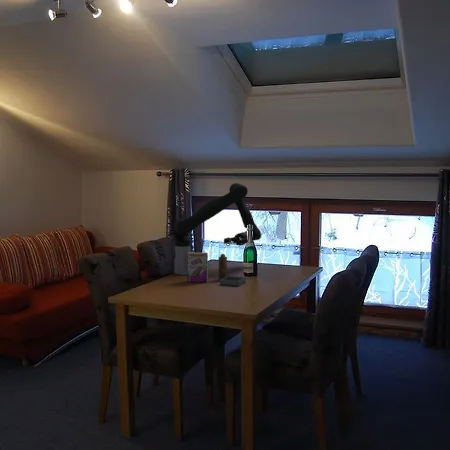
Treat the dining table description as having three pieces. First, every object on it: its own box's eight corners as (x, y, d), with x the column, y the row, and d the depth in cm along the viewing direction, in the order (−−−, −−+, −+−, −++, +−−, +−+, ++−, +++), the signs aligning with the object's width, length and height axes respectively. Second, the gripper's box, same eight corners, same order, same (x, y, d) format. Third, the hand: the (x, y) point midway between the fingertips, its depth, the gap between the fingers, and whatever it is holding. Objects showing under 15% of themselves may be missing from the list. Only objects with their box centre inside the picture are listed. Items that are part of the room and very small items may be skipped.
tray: (220, 284, 285) (219, 279, 284) (227, 281, 293) (227, 276, 293) (238, 286, 280) (238, 281, 279) (245, 282, 289) (245, 277, 288)
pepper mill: (217, 280, 297) (217, 254, 295) (221, 278, 301) (220, 252, 300) (225, 280, 295) (224, 254, 293) (228, 279, 299) (228, 253, 298)
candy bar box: (187, 282, 292) (186, 253, 290) (188, 280, 297) (188, 252, 295) (207, 282, 291) (206, 253, 289) (208, 280, 296) (207, 252, 294)
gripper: (231, 232, 323) (220, 235, 309) (252, 232, 317) (242, 236, 302) (232, 244, 324) (220, 247, 309) (253, 245, 318) (242, 249, 303)
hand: (231, 242), depth 306 cm, fingers open, 8 cm apart
